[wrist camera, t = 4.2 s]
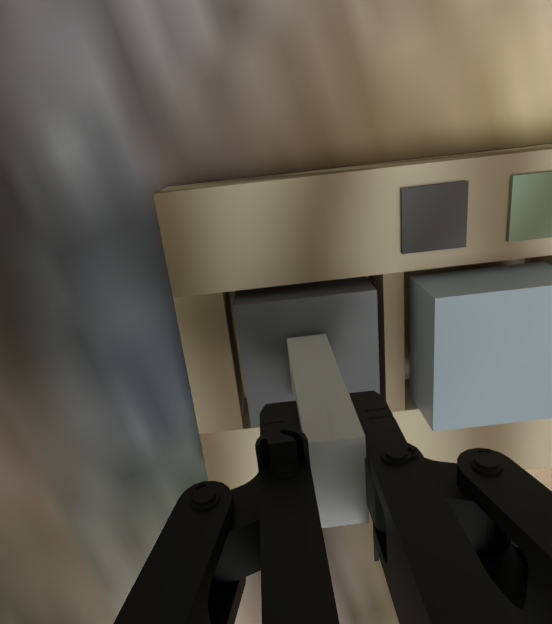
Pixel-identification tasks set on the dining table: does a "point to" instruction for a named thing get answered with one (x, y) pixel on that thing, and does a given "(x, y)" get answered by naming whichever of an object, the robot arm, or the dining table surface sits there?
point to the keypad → (348, 274)
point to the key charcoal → (305, 322)
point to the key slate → (482, 345)
